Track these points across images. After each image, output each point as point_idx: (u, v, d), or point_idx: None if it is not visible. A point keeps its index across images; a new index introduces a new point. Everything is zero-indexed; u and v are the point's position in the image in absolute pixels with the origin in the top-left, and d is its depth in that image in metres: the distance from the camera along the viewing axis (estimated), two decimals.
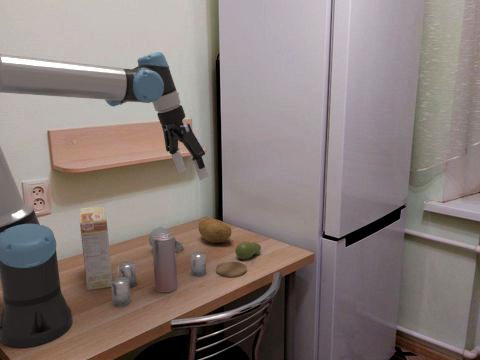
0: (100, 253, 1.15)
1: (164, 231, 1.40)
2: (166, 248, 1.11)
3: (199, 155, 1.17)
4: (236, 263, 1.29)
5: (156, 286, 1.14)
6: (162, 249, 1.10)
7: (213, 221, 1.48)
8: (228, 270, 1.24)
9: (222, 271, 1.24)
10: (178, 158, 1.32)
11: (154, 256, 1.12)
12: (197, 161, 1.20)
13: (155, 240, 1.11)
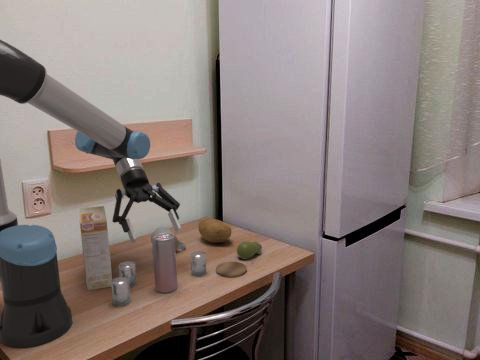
0: (100, 253, 1.15)
1: (166, 231, 1.41)
2: (166, 248, 1.11)
3: None
4: (236, 263, 1.29)
5: (156, 286, 1.14)
6: (162, 249, 1.10)
7: (213, 221, 1.48)
8: (228, 270, 1.24)
9: (222, 271, 1.24)
10: None
11: (154, 256, 1.12)
12: (174, 212, 1.26)
13: (155, 240, 1.11)
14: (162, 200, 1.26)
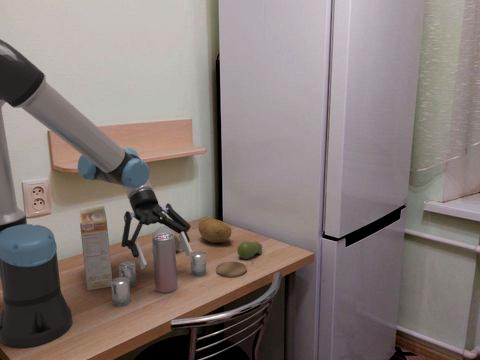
0: (100, 253, 1.15)
1: (167, 230, 1.41)
2: (166, 248, 1.11)
3: None
4: (236, 263, 1.29)
5: (156, 286, 1.14)
6: (162, 249, 1.10)
7: (213, 221, 1.48)
8: (228, 270, 1.24)
9: (222, 271, 1.24)
10: None
11: (154, 256, 1.12)
12: (185, 234, 1.21)
13: (155, 240, 1.11)
14: (172, 222, 1.21)
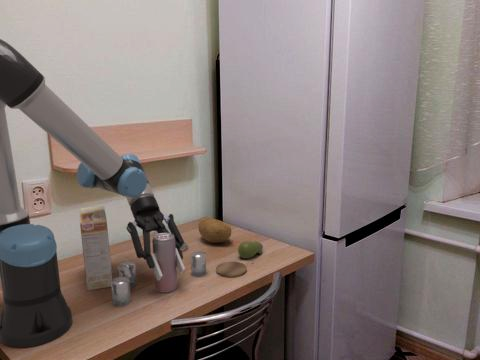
0: (100, 253, 1.15)
1: (168, 230, 1.41)
2: (166, 248, 1.11)
3: None
4: (236, 263, 1.29)
5: (156, 286, 1.14)
6: (163, 248, 1.10)
7: (213, 221, 1.48)
8: (228, 270, 1.24)
9: (222, 271, 1.24)
10: None
11: None
12: (178, 250, 1.16)
13: (155, 240, 1.11)
14: None
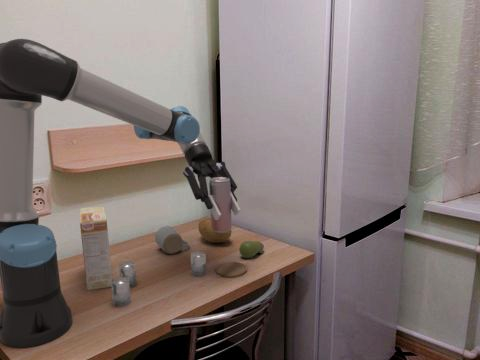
0: (100, 253, 1.15)
1: (171, 230, 1.41)
2: (224, 189, 1.17)
3: None
4: (236, 263, 1.29)
5: (213, 227, 1.20)
6: (220, 190, 1.17)
7: None
8: (228, 270, 1.24)
9: (222, 271, 1.24)
10: None
11: None
12: (232, 194, 1.23)
13: (213, 182, 1.17)
14: None
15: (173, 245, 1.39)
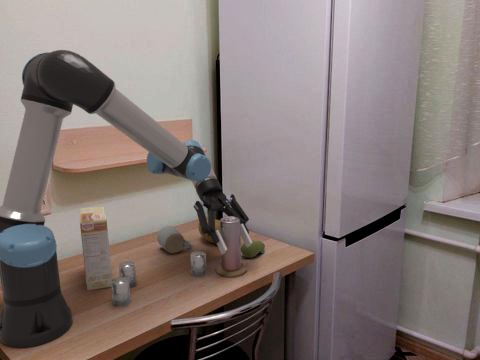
0: (100, 253, 1.15)
1: (172, 230, 1.42)
2: (234, 230, 1.21)
3: None
4: None
5: (223, 265, 1.24)
6: (230, 230, 1.20)
7: None
8: None
9: (222, 271, 1.24)
10: None
11: (222, 237, 1.22)
12: (244, 226, 1.27)
13: (223, 222, 1.21)
14: (234, 212, 1.28)
15: (174, 245, 1.39)
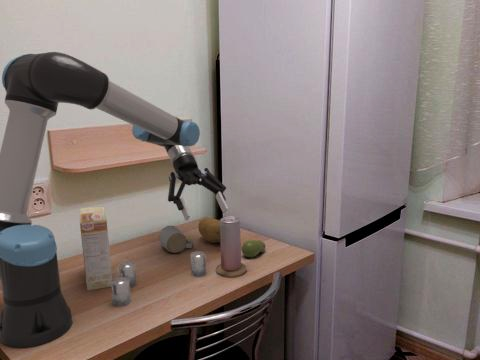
0: (100, 253, 1.15)
1: (174, 229, 1.42)
2: (234, 230, 1.21)
3: None
4: None
5: (223, 265, 1.24)
6: (230, 230, 1.21)
7: (213, 221, 1.48)
8: None
9: (222, 271, 1.24)
10: None
11: (222, 237, 1.22)
12: (221, 194, 1.38)
13: (223, 222, 1.21)
14: (210, 183, 1.38)
15: (176, 244, 1.39)
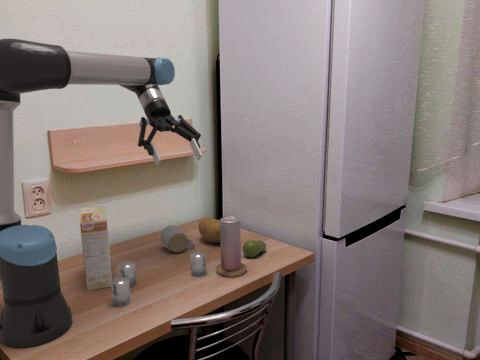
0: (100, 253, 1.15)
1: (176, 229, 1.42)
2: (234, 230, 1.21)
3: None
4: None
5: (223, 265, 1.24)
6: (230, 230, 1.21)
7: (213, 221, 1.48)
8: None
9: (222, 271, 1.24)
10: None
11: (222, 237, 1.22)
12: (196, 141, 1.31)
13: (223, 222, 1.21)
14: (184, 130, 1.31)
15: (178, 244, 1.40)
